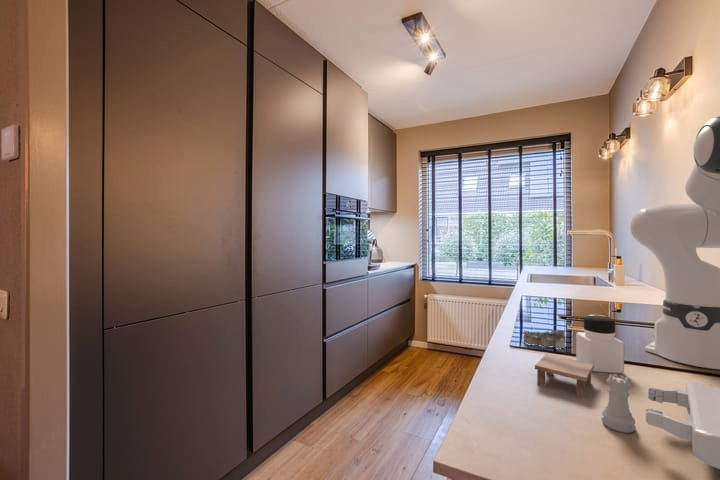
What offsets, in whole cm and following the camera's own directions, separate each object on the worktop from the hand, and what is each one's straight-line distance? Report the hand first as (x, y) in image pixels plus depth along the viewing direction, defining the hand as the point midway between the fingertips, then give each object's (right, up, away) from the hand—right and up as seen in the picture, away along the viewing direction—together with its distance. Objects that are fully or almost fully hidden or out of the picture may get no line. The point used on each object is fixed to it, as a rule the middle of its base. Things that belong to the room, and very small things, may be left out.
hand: (647, 403), depth 52 cm
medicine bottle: (+12, -5, +27) cm, 30 cm away
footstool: (-2, -5, +18) cm, 19 cm away
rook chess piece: (-3, -5, +2) cm, 6 cm away
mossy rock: (+8, -5, +44) cm, 45 cm away
